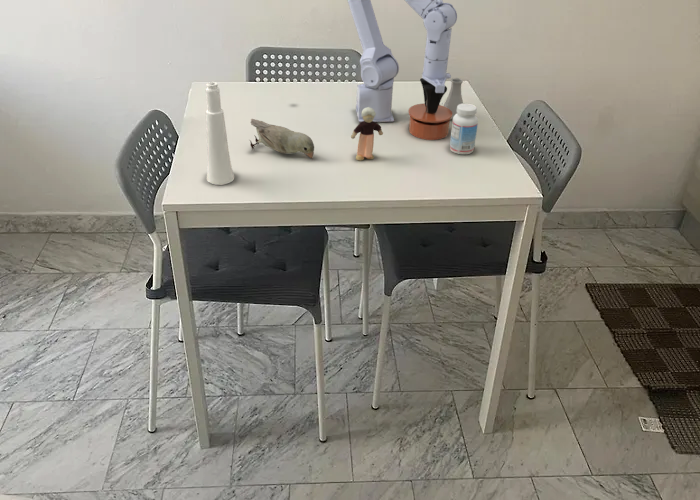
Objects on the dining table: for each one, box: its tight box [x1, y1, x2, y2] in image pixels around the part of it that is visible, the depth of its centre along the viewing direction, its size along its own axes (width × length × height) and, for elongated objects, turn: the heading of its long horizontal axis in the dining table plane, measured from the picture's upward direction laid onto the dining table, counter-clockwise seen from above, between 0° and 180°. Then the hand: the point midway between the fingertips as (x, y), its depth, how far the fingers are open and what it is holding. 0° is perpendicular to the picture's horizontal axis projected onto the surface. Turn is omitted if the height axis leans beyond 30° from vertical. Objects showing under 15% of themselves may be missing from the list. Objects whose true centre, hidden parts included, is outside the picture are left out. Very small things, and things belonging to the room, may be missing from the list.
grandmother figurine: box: [350, 107, 384, 161], centre depth 156 cm, size 8×4×13 cm, turn 117°
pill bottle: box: [449, 102, 479, 155], centre depth 161 cm, size 6×6×11 cm
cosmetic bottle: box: [205, 81, 235, 186], centre depth 142 cm, size 6×6×22 cm
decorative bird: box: [249, 118, 315, 159], centre depth 158 cm, size 5×16×8 cm, turn 72°
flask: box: [443, 77, 464, 121], centre depth 179 cm, size 7×7×10 cm
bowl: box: [408, 115, 451, 141], centre depth 172 cm, size 10×10×4 cm
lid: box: [407, 100, 452, 123], centre depth 169 cm, size 11×11×5 cm
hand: (430, 109), depth 169 cm, fingers closed on lid, 2 cm apart
